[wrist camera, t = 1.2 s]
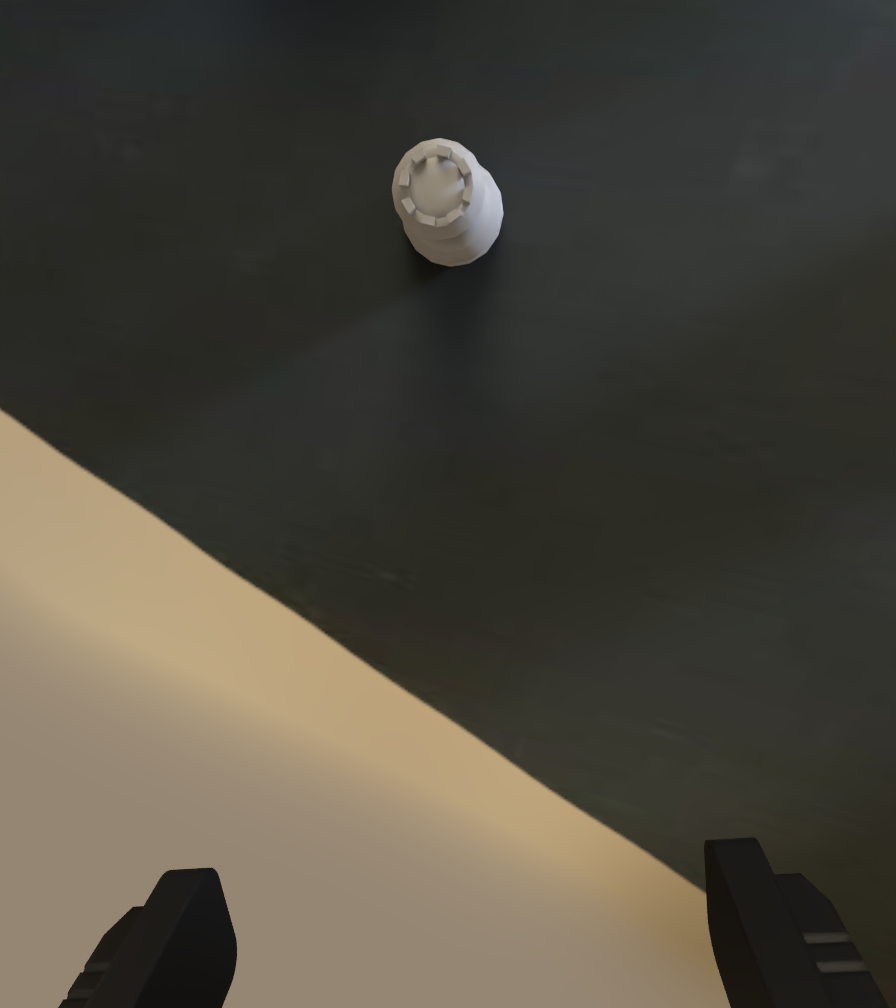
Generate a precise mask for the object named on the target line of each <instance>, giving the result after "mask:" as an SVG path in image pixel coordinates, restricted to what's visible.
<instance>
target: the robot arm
mask: <svg viewBox="0 0 896 1008" xmlns="http://www.w3.org/2000/svg"><path fill="white" fill-rule="evenodd" d="M704 854H705V874H706V894H707V913H708V925H709V932H710V937H711V943H712V947H713V952H714V956H715V959H716V963H717V966H718V969H719V973H720V976H721V979H722V982H723V985H724V988H725V991H726V994H727V997H728V1000H729V1003H730V1006H731V1008H889V1007H888V1005H887V1003H886V1001H885V999H884V998H883V996H882V994H881V992H880V990H879V988H878V987H877V985H876V983H875V981H874V979H873V977H872V976H871V974H870V972H867V970H866V967H865V963H864V961H863V959H862V957H861V956H860V954H859V952H858V950H857V948H856V946H855V945H854V943H853V942H851V940H850V936H849V934H848V932H847V930H846V928H845V926H844V925H843V923H842V921H841V919H840V917H839V915H838V914H837V912H836V910H835V908H834V906H833V904H832V903H831V901H830V900H829V899H828V898H827V897H826V896H824V895H823V894H822V893H821V892H820V891H819V890H818V889H817V888H816V887H815V886H814V885H813V884H811V883H810V882H809V881H808V880H807V879H806V878H805V877H804V876H803V875H802V874H801V873H797V874H778V875H774V873H773V871H772V869H771V867H770V865H769V862H768V860H767V858H766V856H765V854H764V852H763V850H762V848H761V846H760V844H759V842H758V841H757V839H756V838H754V837H753V838H736V839H719V840H706V841H705V845H704ZM236 959H237V943H236V937H235V933H234V929H233V926H232V922H231V919H230V915H229V911H228V908H227V904H226V900H225V897H224V893H223V890H222V886H221V882H220V879H219V876H218V873H217V872H216V871H215V869H213V868H197V869H182V870H181V869H180V870H169V871H167V872H166V873H164V874H163V875H162V877H161V878H160V880H159V881H158V883H157V885H156V886H155V888H154V890H153V891H152V893H151V895H150V896H149V898H148V900H147V901H146V903H145V905H144V906H140V907H132V908H131V909H130V910H129V911H128V912H127V913H126V914H125V915H124V916H123V917H122V918H121V919H120V920H119V921H118V922H117V923H116V924H115V925H114V926H113V927H112V928H111V929H110V930H109V931H107V933H106V934H104V936H103V937H102V939H101V941H100V942H99V944H98V945H97V947H96V949H95V950H94V952H93V953H92V955H91V957H90V958H89V960H88V961H87V963H86V964H85V969H84V972H83V973H80V974H79V976H78V977H77V979H76V980H75V982H74V984H73V985H72V987H71V988H70V990H69V992H68V997H67V999H66V1000H63V1001H62V1003H61V1004H60V1006H59V1007H58V1008H222V1006H223V1003H224V1000H225V998H226V995H227V993H228V991H229V988H230V986H231V983H232V980H233V976H234V972H235V967H236Z"/></svg>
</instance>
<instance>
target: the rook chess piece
mask: <svg viewBox="0 0 896 1008" xmlns="http://www.w3.org/2000/svg"><path fill="white" fill-rule="evenodd" d="M392 193H393V199H394V205H395V209H396V211H397V213H398V214H399V216H400V218H401V219H402V221H403V227H404V231H405V233H406V234H407V236H408V238H409V239H410V241H411V243H412V245H413V246H414V248H415V250H416V251H418V252H419V253H420V254H422V255H423V256H424V257H426V258H427V259H428V260H430V261H431V262H433V263H437V264H441V265H446V266H450V267H452V266H458V265H463V264H469V263H471V262H473V261H474V260H476V259H477V258H479V257H480V256H482V255H483V254H485V253H486V252H487V251H488V250H489V248H490V247H491V245H492V244H493V242H494V241H495V239H496V238H497V237H498V235H499V231H500V227H501V223H502V218H503V207H502V200H501V193H500V191H499V189H498V187H497V186H496V184H495V182H494V180H493V178H492V177H491V175H490V174H489V172H488V171H487V170H485V169H484V168H483V167H481V166H480V165H479V164H478V162H477V160H476V158H475V157H474V155H473V154H472V153H471V152H470V151H468V150H467V149H466V148H465V147H463V146H462V145H461V144H459V143H458V142H454V141H450V140H446V139H442V138H438V139H433V140H428V141H423V142H420V143H419V144H418V145H416V146H415V147H413V148H412V149H411V150H409V151H408V152H406V154H405V155H404V157H403V158H402V160H401V162H400V163H399V165H398V166H397V168H396V170H395V175H394V180H393V185H392Z"/></svg>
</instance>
